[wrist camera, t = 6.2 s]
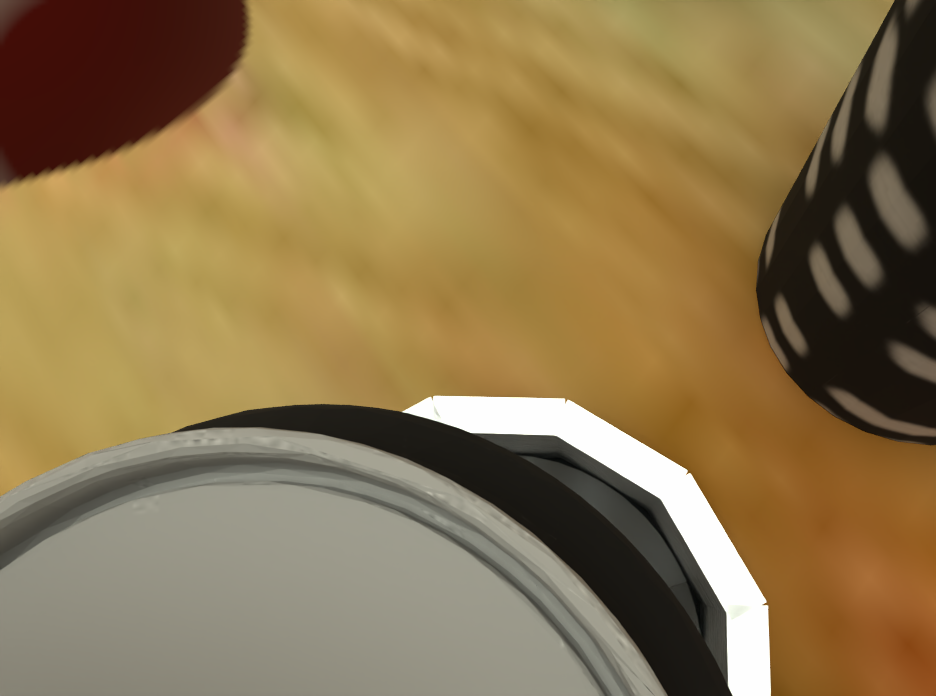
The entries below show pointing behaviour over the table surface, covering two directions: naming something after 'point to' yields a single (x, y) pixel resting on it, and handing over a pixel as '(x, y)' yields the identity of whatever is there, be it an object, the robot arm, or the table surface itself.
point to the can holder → (636, 515)
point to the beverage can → (329, 570)
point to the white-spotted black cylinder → (865, 244)
